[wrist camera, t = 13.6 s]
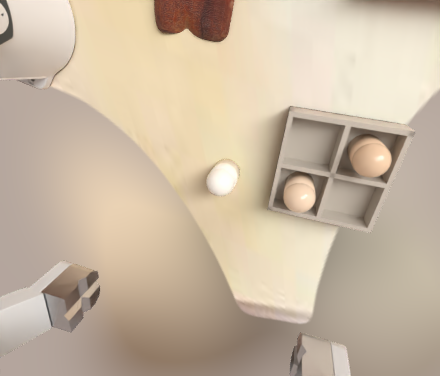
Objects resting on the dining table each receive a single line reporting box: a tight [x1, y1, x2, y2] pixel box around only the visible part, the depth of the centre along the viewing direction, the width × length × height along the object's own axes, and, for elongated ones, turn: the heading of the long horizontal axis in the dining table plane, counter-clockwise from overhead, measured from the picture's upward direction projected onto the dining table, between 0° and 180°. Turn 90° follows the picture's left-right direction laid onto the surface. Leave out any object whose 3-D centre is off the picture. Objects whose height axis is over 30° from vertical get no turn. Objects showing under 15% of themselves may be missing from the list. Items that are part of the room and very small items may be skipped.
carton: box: [268, 106, 415, 233], centre depth 37 cm, size 14×14×4 cm
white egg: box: [206, 159, 240, 196], centre depth 40 cm, size 4×4×6 cm
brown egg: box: [347, 134, 392, 178], centre depth 33 cm, size 4×4×6 cm
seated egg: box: [283, 171, 316, 213], centre depth 37 cm, size 4×4×6 cm
